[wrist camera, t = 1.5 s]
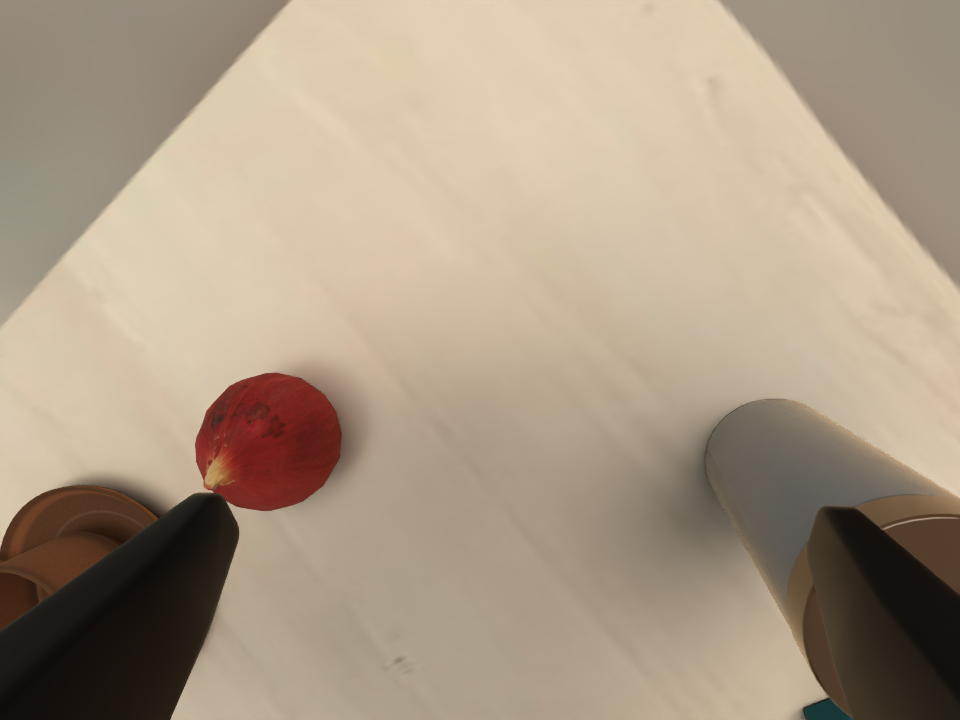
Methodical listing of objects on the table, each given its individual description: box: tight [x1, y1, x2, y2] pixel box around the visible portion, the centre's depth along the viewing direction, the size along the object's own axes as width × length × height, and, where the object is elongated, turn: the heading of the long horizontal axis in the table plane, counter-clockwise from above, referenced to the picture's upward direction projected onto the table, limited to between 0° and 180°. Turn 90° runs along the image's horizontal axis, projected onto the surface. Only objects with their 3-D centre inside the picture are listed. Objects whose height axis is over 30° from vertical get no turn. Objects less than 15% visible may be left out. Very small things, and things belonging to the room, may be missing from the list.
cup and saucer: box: [0, 485, 158, 631], centre depth 29 cm, size 12×12×6 cm
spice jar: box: [705, 399, 960, 718], centre depth 19 cm, size 6×6×12 cm
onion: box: [195, 373, 342, 511], centre depth 25 cm, size 6×6×8 cm
